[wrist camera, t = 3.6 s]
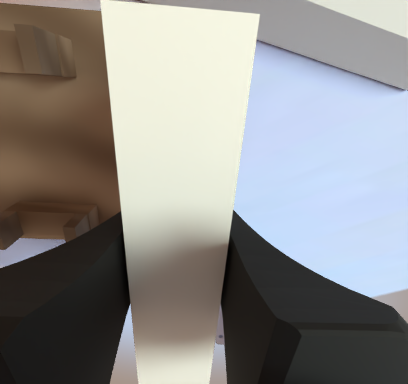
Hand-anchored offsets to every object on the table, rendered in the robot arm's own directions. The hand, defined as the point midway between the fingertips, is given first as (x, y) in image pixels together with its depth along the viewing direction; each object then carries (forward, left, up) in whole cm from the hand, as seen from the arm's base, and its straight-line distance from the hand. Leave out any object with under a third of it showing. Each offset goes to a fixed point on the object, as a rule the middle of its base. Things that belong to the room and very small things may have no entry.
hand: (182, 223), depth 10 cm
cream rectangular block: (0, 0, -2) cm, 2 cm away
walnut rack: (+1, +10, -8) cm, 13 cm away
